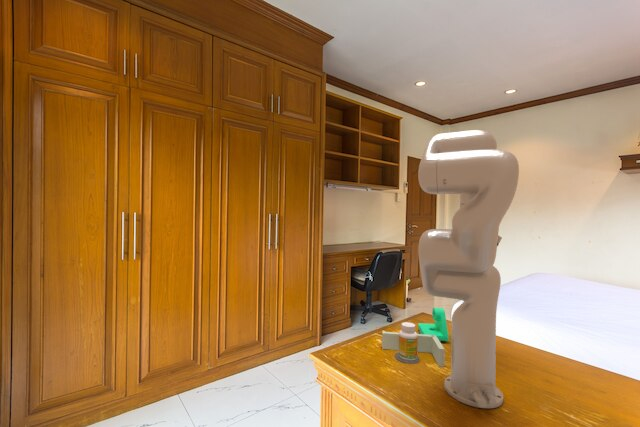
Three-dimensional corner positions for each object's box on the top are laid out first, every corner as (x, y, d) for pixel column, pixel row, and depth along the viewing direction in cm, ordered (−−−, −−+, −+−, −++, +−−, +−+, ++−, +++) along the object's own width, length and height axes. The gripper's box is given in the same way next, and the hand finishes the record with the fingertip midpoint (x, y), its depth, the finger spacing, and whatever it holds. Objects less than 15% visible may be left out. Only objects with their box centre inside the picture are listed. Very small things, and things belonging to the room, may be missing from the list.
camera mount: (417, 329, 113) (417, 302, 113) (438, 331, 112) (438, 303, 112) (425, 342, 101) (425, 312, 101) (448, 344, 100) (448, 313, 100)
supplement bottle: (406, 362, 86) (406, 328, 86) (395, 354, 91) (395, 322, 91) (421, 359, 87) (421, 326, 88) (409, 351, 93) (410, 320, 93)
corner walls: (444, 366, 84) (444, 349, 84) (384, 361, 86) (384, 344, 86) (435, 351, 94) (435, 335, 94) (381, 346, 97) (382, 331, 97)
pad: (421, 364, 85) (421, 363, 85) (396, 362, 86) (396, 361, 86) (416, 353, 92) (417, 352, 92) (393, 351, 93) (393, 350, 93)
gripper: (495, 209, 99) (495, 261, 99) (441, 209, 101) (441, 259, 101) (507, 209, 91) (506, 264, 91) (448, 208, 94) (448, 263, 93)
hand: (472, 262), depth 96 cm, fingers open, 9 cm apart
